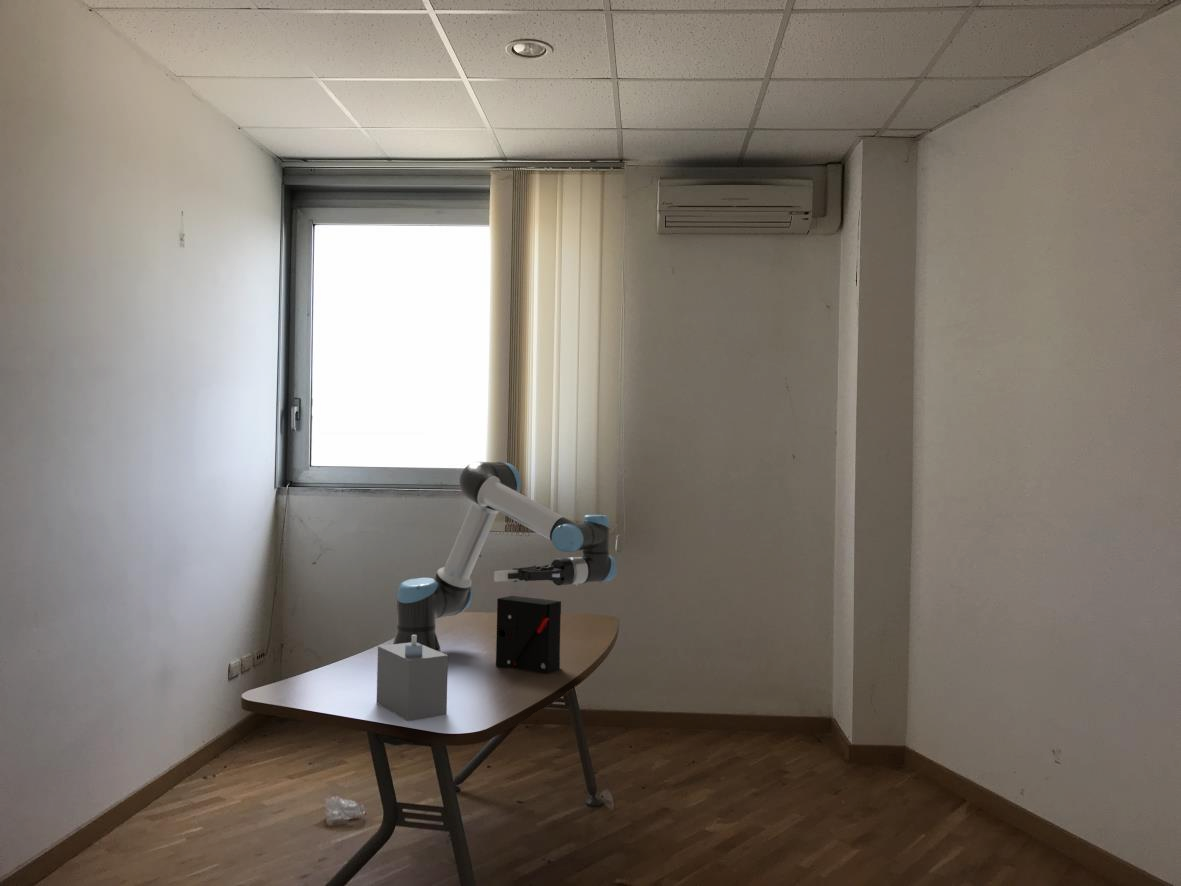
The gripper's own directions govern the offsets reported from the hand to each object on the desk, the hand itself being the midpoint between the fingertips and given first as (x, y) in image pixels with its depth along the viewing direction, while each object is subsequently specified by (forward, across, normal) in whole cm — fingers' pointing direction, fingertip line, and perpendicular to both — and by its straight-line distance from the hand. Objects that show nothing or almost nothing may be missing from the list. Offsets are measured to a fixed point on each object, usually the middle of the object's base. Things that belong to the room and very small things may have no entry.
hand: (495, 576), depth 230 cm
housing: (+25, -4, -30) cm, 40 cm away
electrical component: (-22, +16, -30) cm, 41 cm away
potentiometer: (+27, -9, -16) cm, 33 cm away
